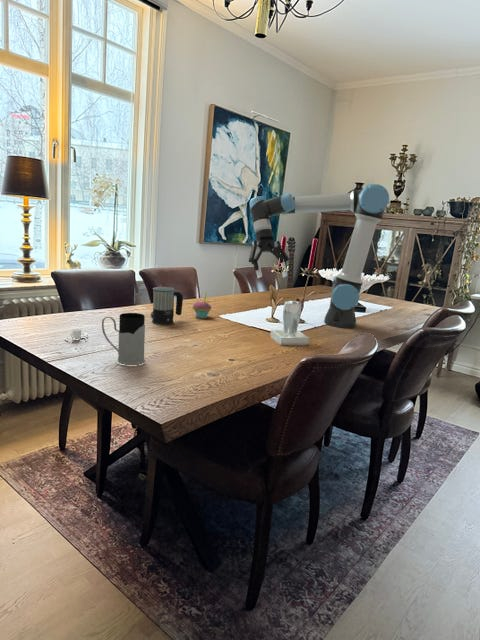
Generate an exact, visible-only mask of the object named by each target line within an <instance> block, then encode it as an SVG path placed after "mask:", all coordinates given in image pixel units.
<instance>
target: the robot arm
mask: <svg viewBox="0 0 480 640" xmlns="http://www.w3.org/2000/svg"><path fill="white" fill-rule="evenodd" d="M389 202H390V194H389V191H388V189H387V188H386V187H385V186H383V185H382V184H379V183H372V184H368V185H366V186H365V187H363V188H361V189H358V190H357V189H356V190H352V191H351V192H347V193H331V194H318V195H305V196H304V195H302V196H293V195H292V193H285V194H282V195H277V196H276V197H273V198H268V199H266V198H265V197H264V196H263V195H261V196H255V197H253V198H251V199H250V201H249V212H250V216H251V219H252V224H253V228H254V229H253V230H254V233H255V239H256V240H253V241H252V242H251V249H250V253H249V257H248V263H251V264H252V265H253V269H254V271H255V274H256V278H257V279H261V278H262V277H263V273H262V268H261V263H260V261H259V260H260V258H261V256H262V254H263V253H265V252H266V253H271V254H272V255H273V256H274V257H275V258H276V259H277V260H278V261H279V258H280V261H281V262H282V263H281V262H280V261H279V262H280V264H281V266H280V268H281V267H282V269H283V268H284V270H285V271H286V272H285V271H283V272H282V271H281V274H282V275H281V276H282V278H286V277H287V276H288V270H287V269H288V266H287V262H288V261H289V260H290V258H289V256H288V255H287V253H286V252H284V251H285V250H284V249H283V251H282V249H281V247H282V245H281V242H280V240H277V241H275V240H274V234H273V230H272V225H271V219H270V218H271V217H274V216H278V215H288V214H289V215H290V214H302V213H303V214H304V213H305V214H306V213H322V212H323V213H324V212H325V213H326V212H339V211H340V212H342V211H344V212H345V211H351V212H352V213H354V215H355V218H356V221H355V223H354V227H353V228H354V229H353V231H352V235H351V239H350V242H349V246H348V249H347V251H346V255H345V259H344V262H343V265H342V269H341V273H339V274H338V275H335V276H334V277H333V278H332V279H333V280H332V286H331V294H330V302H329V308H328V309H327V311H326V314H325V316H324V319H323V323H325V324H326V325H328V326H331V327H335V328H336V327H337V328H343V329H345V328H346V329H350V328H356V326H357V320H356V319H357V318H356V313H355V307H356V305H358V303H359V301H360V293H361V290H362V286H363V283H364V282H363V280H362V274H363V271H364V268H365V264H366V261H367V259H368V254H369V251H370V247H371V244H372V241H373V237H374V234H375V231H376V227H377V224H378V223H380V222H381V221H382V220H383V217H384V214H385V212H386V208H387V206H388V205H389ZM257 248H258V250H257ZM280 253H281V254H280ZM283 259H284V262H283Z"/></svg>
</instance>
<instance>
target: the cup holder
mask: <svg viewBox="0 0 480 640" xmlns="http://www.w3.org/2000/svg"><path fill="white" fill-rule="evenodd" d="M283 330H284V329H270V335H269V337H270V338H271V339H272V340H273V341H275V342H276V343H277V344H279V346H309V341H310V337H309V336H307V335H306V334H304V333H303V332H301V331H300V330H298V329H297V337H282V334H283Z"/></svg>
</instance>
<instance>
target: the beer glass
mask: <svg viewBox="0 0 480 640" xmlns="http://www.w3.org/2000/svg"><path fill="white" fill-rule="evenodd" d="M301 315H302V302H300V301H297V300H285V301H284V306H283V312H282V321H283V322H282V323H283V329H282V330H283V334H282V337H297V330H298V327H299V324H300V319H301Z"/></svg>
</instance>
